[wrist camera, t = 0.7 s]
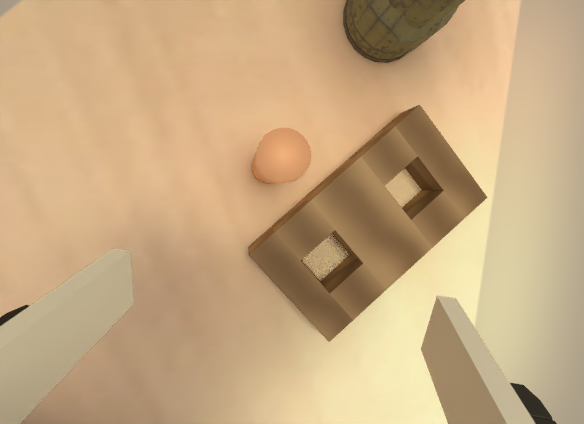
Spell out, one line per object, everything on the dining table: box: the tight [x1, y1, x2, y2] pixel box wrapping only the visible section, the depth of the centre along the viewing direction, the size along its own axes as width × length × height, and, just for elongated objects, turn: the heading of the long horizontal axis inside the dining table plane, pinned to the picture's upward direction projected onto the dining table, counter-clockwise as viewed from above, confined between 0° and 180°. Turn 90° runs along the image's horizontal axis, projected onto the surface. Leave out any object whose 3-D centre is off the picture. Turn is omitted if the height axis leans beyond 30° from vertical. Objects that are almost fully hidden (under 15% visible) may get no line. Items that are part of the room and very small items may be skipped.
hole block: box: [249, 105, 487, 342], centre depth 34 cm, size 22×12×4 cm, turn 131°
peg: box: [252, 128, 311, 183], centre depth 27 cm, size 3×3×15 cm
